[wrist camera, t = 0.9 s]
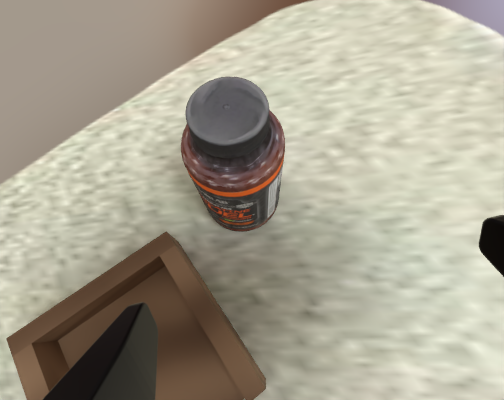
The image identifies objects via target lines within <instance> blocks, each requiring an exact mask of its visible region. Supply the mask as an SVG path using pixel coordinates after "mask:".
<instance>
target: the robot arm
mask: <svg viewBox="0 0 504 400" xmlns="http://www.w3.org/2000/svg"><path fill="white" fill-rule="evenodd" d="M479 248H480V251H481V252H482V254H483V255H484V256H485V257H486V258H487V259H488V260H489V261H490V262H491V264H492V265H493V266H494V267H495V268H496V269H497V270H498V271H499V272H500V273H501V274H502V275H503V277H504V215H499V216H495V217H491V218H487V219H486V220H485V221H484V222H483V224H482V229H481V235H480V240H479ZM157 350H158V328H157V324H156V322H155V320H154V318H153V315H152V313H151V311H150V309H149V307H148V305H147V304H146V303H145V302H140V303H136V304H132V305H129V306H127V307H126V308H125V309H124V310H123V312H122V313H121V314H120V315H119V316H118V317H117V318H116V319H115V320H114V321H113V322H112V324H111V325H110V326H109V327H108V328H107V329H106V330H105V331H104V332H103V333H102V335H101V336H100V337H99V338H98V339H97V340H96V341H95V342H94V343H93V344H92V346H91V347H90V348H89V349H88V350H87V351H86V352H85V353H84V354H83V355H82V357H81V358H80V359H79V360H78V361H77V362H76V363H75V364H74V365H73V366H72V368H71V369H70V370H69V371H68V372H67V373H66V374H65V375H64V376H63V377H62V378H61V380H60V381H59V382H58V383H57V384H56V385H55V386H54V387H53V388H52V389H51V391H50V392H49V393H48V394H47V395H46V396H45V397H44V398H43V399H42V400H155V395H156V375H157Z"/></svg>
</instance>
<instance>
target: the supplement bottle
mask: <svg viewBox="0 0 504 400" xmlns="http://www.w3.org/2000/svg"><path fill="white" fill-rule="evenodd" d="M186 120H187V125H186V127H185V129H184V132H183V135H182V140H181V153H182V158H183V161H184V164H185V167H186V168H187V170H188V173H189V175H190V177H191V178H192V180H193V182H194V184H195V186H196V188H197V190H198V192H199V194H200V196H201V198H202V200H203V202H204V204H205V205H206V207H207V209H208V211H209V213H210V214H211V216H212V217H213V218H214V220H215V221H216V222H218V223H219V224H220V225H222V226H223V227H225V228H227V229H230V230H234V231H249V230H253V229H255V228H259V227H260V226H262V225H263V224H265V223H266V222H267V221H268V220H269V219H270V218H271V217H272V215H273V214H274V212H275V210H276V207H277V204H278V200H279V191H280V184H281V176H282V168H283V161H284V152H285V138H284V133H283V129H282V126H281V124H280V122H279V121H278V119H277V118H276V116H275V115H274V114H273V113H272V112H271V111H270V110H269V103H268V100H267V98H266V96H265V94H264V93H263V91H262V90H261V89H260V88H259V87H258V86H257V85H255V84H254V83H252V82H251V81H248V80H246V79H243V78H239V77H221V78H218V79H214V80H211V81H208V82H207V83H205V84H203V85H202V86H200V87H199V88H198V89H197V90H196V91H195V92H194V93H193V94H192V95H191V97H190V99H189V101H188V103H187V106H186Z"/></svg>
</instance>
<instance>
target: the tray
mask: <svg viewBox="0 0 504 400" xmlns="http://www.w3.org/2000/svg"><path fill="white" fill-rule="evenodd" d="M140 302H145V303H146V304H147V305H148V307H149V309H150V311H151V313H152V315H153V318H154V320H155V322H156V324H157V328H158V350H157V375H156V395H155V400H243V399H244V398H245V399H246V400H253V399H254V398H256V397H257V396H258V395H259V394H260V393H261V392H263V391H264V390H265V389H266V378H265V377H264V375H263V373H262V372H261V370H260V369H259V367H258V366H257V364H256V363H255V361H254V359H253V358H252V356H251V355H250V353H249V352H248V350H247V348H246V347H245V345H244V344H243V342H242V341H241V339H240V338H239V336H238V334H237V333H236V331H235V330H234V328H233V327H232V325H231V323H230V322H229V320H228V319H227V317H226V316H225V314H224V313H223V311H222V309H221V308H220V306H219V305H218V303H217V302H216V300H215V298H214V297H213V295H212V294H211V292H210V291H209V289H208V288H207V286H206V284H205V283H204V281H203V280H202V278H201V277H200V275H199V273H198V272H197V270H196V269H195V267H194V266H193V264H192V263H191V261H190V259H189V258H188V256H187V255H186V253H185V252H184V250H183V248H182V247H181V245H180V244H179V242H178V241H177V240H175V239H174V238H173V237H172V236H171V235H170V234H169V233H167V232H165V233H163V234H162V235H160V236H159V237H157V238H156V239H154V240H153V241H151V242H150V243H148V244H147V245H145V246H144V247H142V248H141V249H139V250H138V251H136V252H135V253H133V254H132V255H130V256H129V257H127V258H126V259H124V260H123V261H121V262H120V263H119V264H117V265H116V266H114V267H113V268H111V269H110V270H108V271H107V272H105V273H104V274H102V275H101V276H99V277H98V278H96V279H95V280H93V281H92V282H90V283H89V284H87V285H86V286H84V287H83V288H81V289H80V290H78V291H77V292H75V293H74V294H72V295H71V296H69V297H68V298H66V299H65V300H63V301H62V302H60V303H59V304H57V305H56V306H54V307H53V308H51V309H50V310H48V311H47V312H45V313H44V314H42V315H41V316H39V317H38V318H36V319H35V320H33V321H32V322H30V323H29V324H27V325H26V326H24V327H23V328H21V329H20V330H18V331H17V332H16V333H14V334H13V335H11V336H10V337H8V338H7V342H8V345H9V348H10V351H11V354H12V357H13V360H14V363H15V365H16V368H17V371H18V374H19V377H20V380H21V383H22V386H23V389H24V392H25V395H26V398H27V400H42V399H43V398H44V397H45V396H46V395H47V394H48V393H49V392H50V391H51V389H52V388H53V387H54V386H55V385H56V384H57V383H58V382H59V381H60V380H61V378H62V377H63V376H64V375H65V374H66V373H67V372H68V371H69V370H70V369H71V368H72V366H73V365H74V364H75V363H76V362H77V361H78V360H79V359H80V358H81V357H82V355H83V354H84V353H85V352H86V351H87V350H88V349H89V348H90V347H91V346H92V344H93V343H94V342H95V341H96V340H97V339H98V338H99V337H100V336H101V335H102V333H103V332H104V331H105V330H106V329H107V328H108V327H109V326H110V325H111V324H112V322H113V321H114V320H115V319H116V318H117V317H118V316H119V315H120V314H121V313H122V312H123V310H124V309H125V308H126V307H127V306H129V305H132V304H136V303H140Z"/></svg>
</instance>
